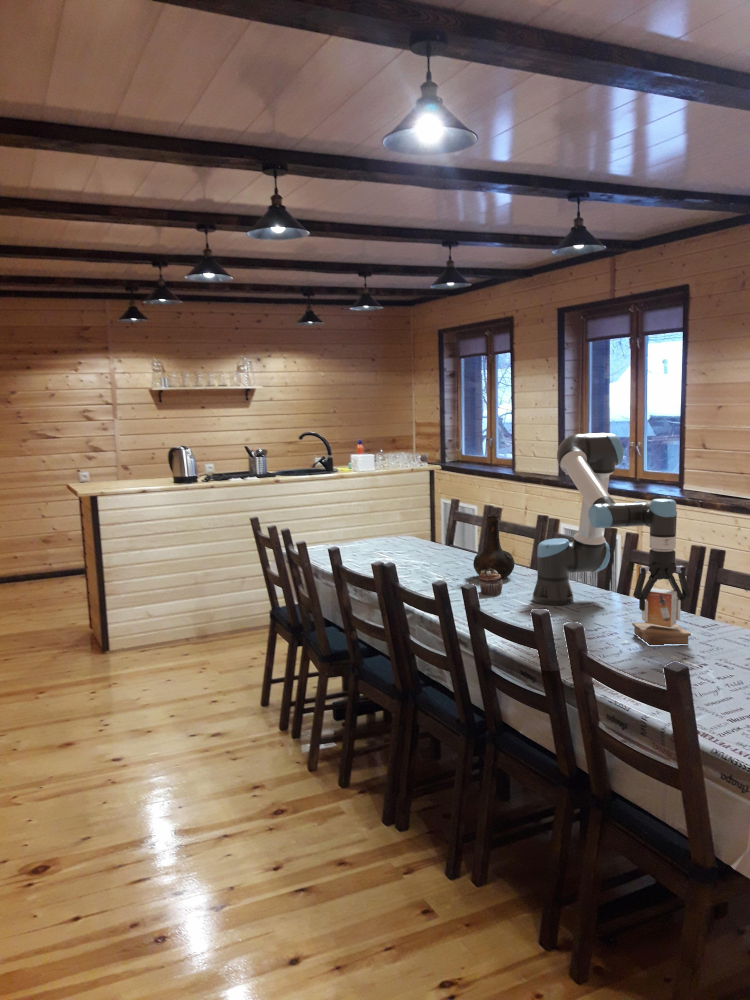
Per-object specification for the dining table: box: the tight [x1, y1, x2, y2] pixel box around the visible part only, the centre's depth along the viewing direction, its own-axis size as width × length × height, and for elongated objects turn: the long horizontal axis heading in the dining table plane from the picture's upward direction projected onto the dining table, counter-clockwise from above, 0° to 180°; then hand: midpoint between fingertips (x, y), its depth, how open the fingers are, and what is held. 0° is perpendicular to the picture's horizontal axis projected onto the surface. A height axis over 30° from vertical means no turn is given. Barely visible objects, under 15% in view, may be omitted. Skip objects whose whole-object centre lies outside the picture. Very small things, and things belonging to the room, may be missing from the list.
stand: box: [631, 621, 692, 645], centre depth 230 cm, size 13×13×4 cm
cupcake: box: [478, 568, 504, 596], centre depth 295 cm, size 10×10×10 cm
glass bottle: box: [472, 513, 516, 580], centre depth 320 cm, size 18×18×28 cm
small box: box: [644, 587, 678, 627], centre depth 229 cm, size 8×6×10 cm
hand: (660, 620), depth 229 cm, fingers closed on small box, 9 cm apart
